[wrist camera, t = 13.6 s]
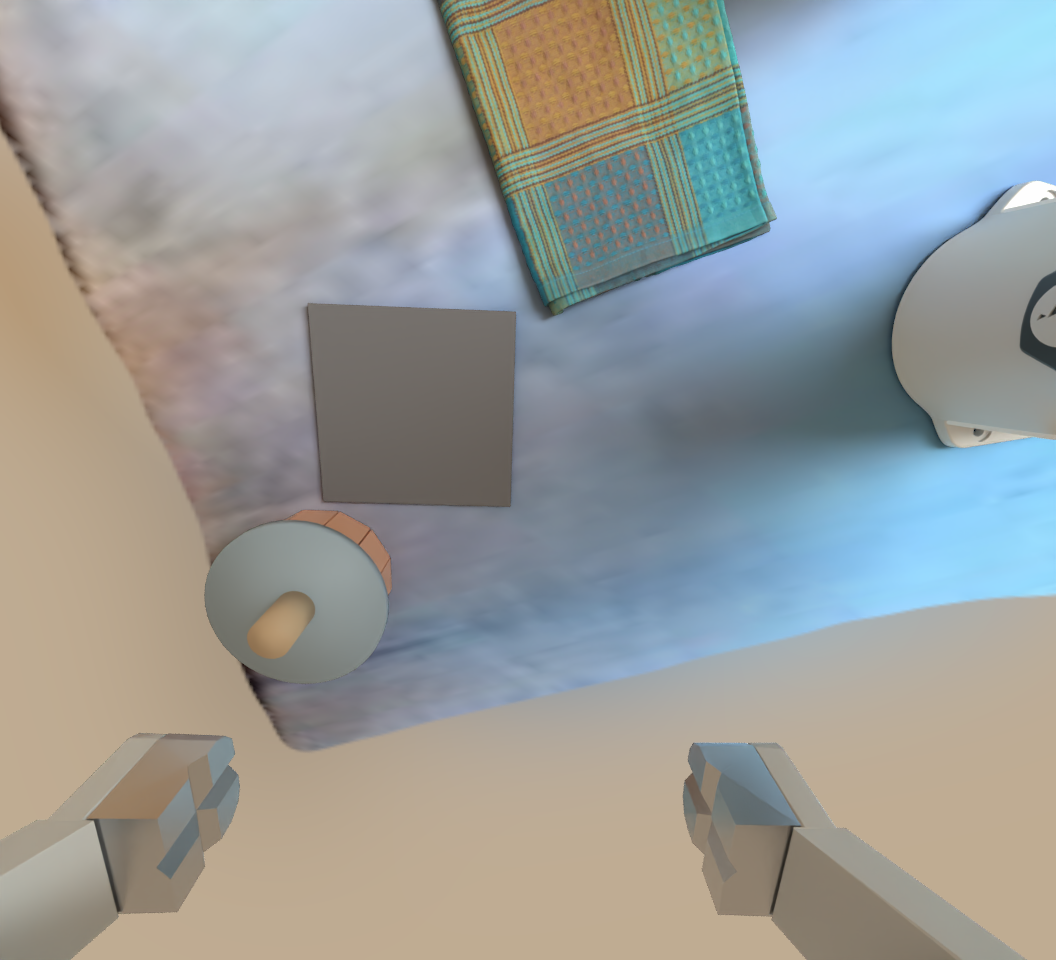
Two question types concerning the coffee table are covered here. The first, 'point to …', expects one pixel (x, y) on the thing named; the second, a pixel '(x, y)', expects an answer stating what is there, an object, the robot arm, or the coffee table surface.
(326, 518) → the bowl
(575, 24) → the dish towel
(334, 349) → the mat
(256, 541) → the lid
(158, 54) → the coffee table surface
